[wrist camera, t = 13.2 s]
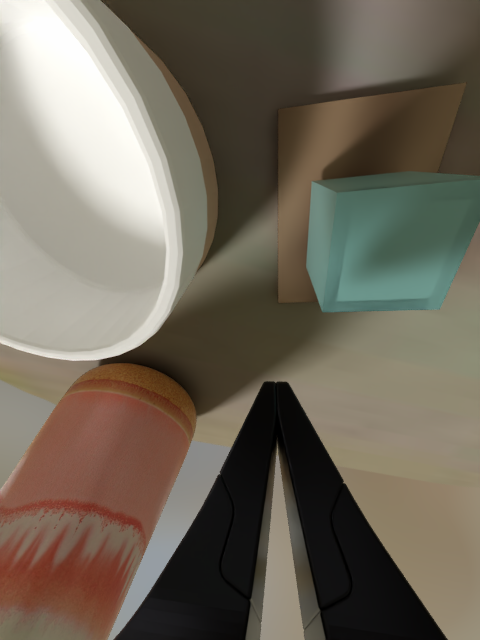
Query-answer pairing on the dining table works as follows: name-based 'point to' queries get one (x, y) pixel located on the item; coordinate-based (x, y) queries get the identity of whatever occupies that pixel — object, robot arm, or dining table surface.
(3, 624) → the vase
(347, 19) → the dining table surface
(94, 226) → the bowl
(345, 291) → the teal tilted box
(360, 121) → the post block
